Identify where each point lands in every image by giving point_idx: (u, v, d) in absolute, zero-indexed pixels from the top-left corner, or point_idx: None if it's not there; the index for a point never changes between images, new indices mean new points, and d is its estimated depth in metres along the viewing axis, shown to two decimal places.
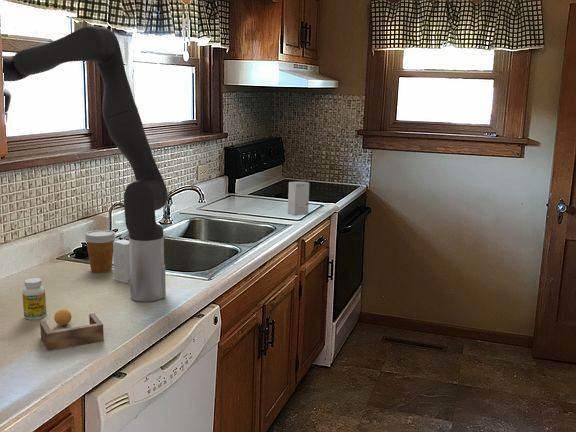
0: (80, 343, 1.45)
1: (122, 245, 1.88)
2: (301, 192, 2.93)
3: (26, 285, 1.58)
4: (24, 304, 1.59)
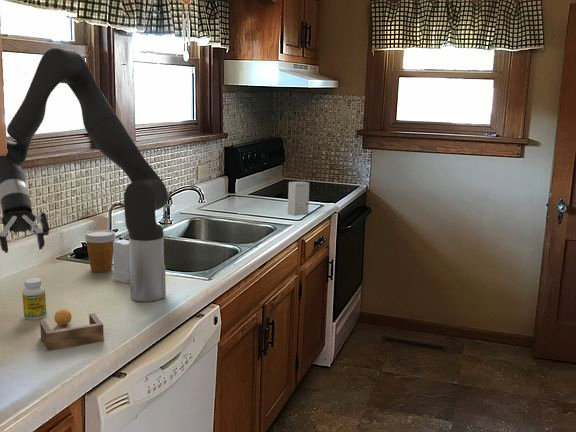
0: (80, 343, 1.45)
1: (122, 245, 1.88)
2: (301, 192, 2.93)
3: (26, 285, 1.58)
4: (24, 304, 1.59)
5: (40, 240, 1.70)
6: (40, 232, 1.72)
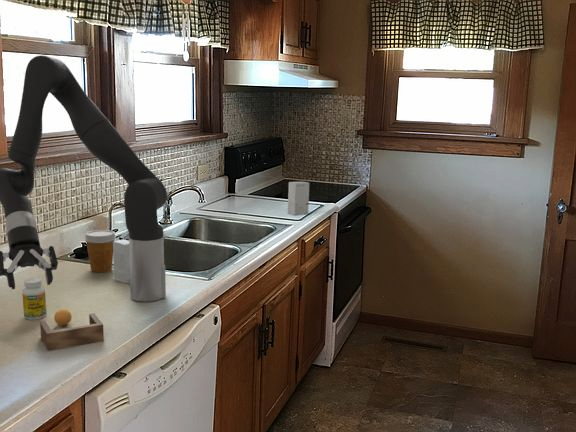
0: (80, 343, 1.45)
1: (122, 245, 1.88)
2: (301, 192, 2.93)
3: (26, 285, 1.58)
4: (24, 304, 1.59)
5: (48, 275, 1.64)
6: (48, 267, 1.65)
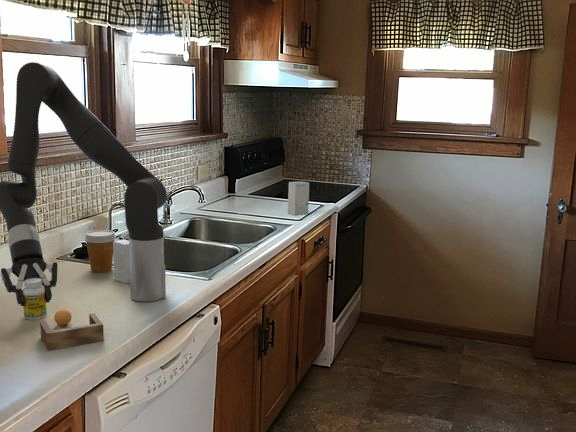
0: (80, 343, 1.45)
1: (122, 245, 1.88)
2: (301, 192, 2.93)
3: (26, 285, 1.58)
4: (24, 304, 1.59)
5: (47, 293, 1.61)
6: (47, 284, 1.62)
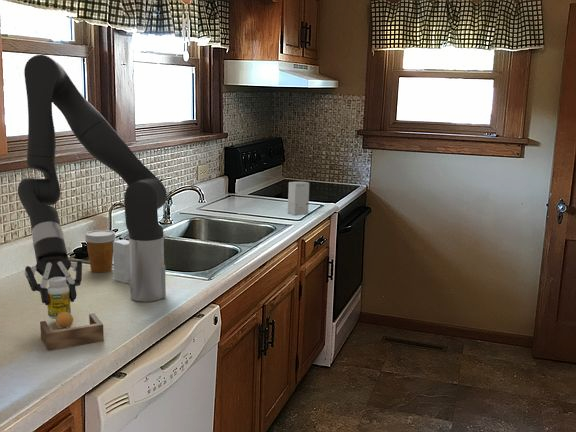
0: (80, 343, 1.45)
1: (122, 245, 1.88)
2: (301, 192, 2.93)
3: (51, 284, 1.55)
4: None
5: (72, 292, 1.57)
6: (72, 283, 1.59)
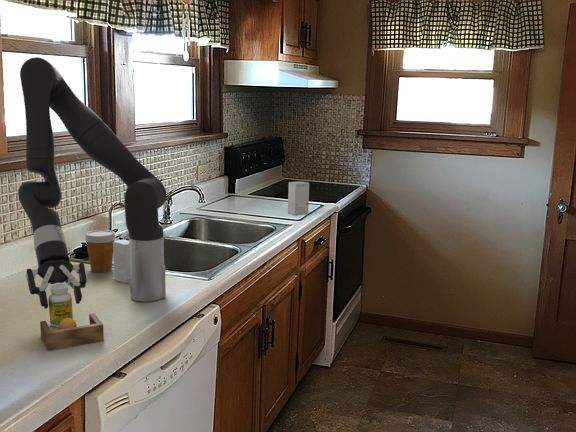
0: (80, 343, 1.45)
1: (122, 245, 1.88)
2: (301, 192, 2.93)
3: (52, 291, 1.54)
4: (50, 311, 1.55)
5: (77, 294, 1.57)
6: (77, 285, 1.58)
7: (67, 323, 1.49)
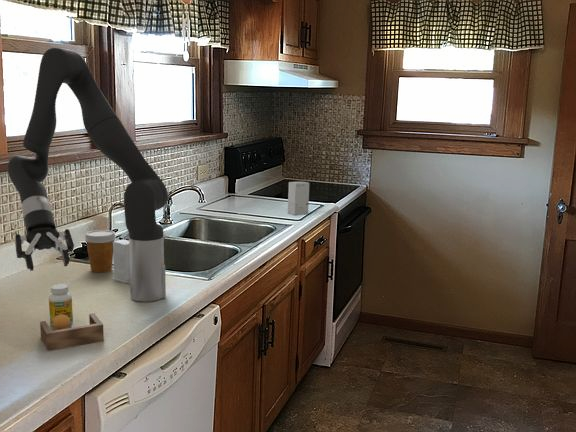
0: (80, 343, 1.45)
1: (122, 245, 1.88)
2: (301, 192, 2.93)
3: (53, 291, 1.54)
4: (50, 311, 1.55)
5: (65, 257, 1.68)
6: (65, 249, 1.70)
7: None
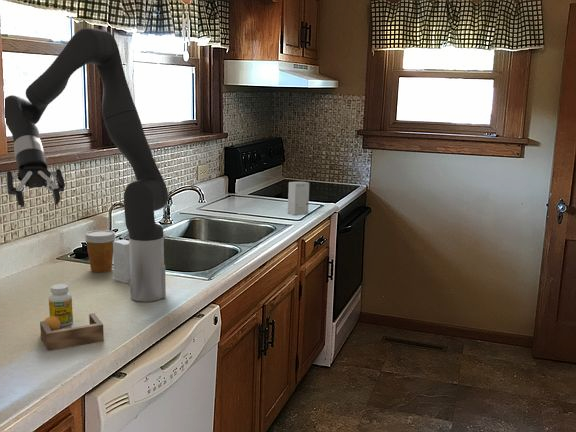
0: (80, 343, 1.45)
1: (122, 245, 1.88)
2: (301, 192, 2.93)
3: (53, 291, 1.54)
4: (50, 311, 1.55)
5: (56, 195, 1.70)
6: (56, 188, 1.71)
7: None
